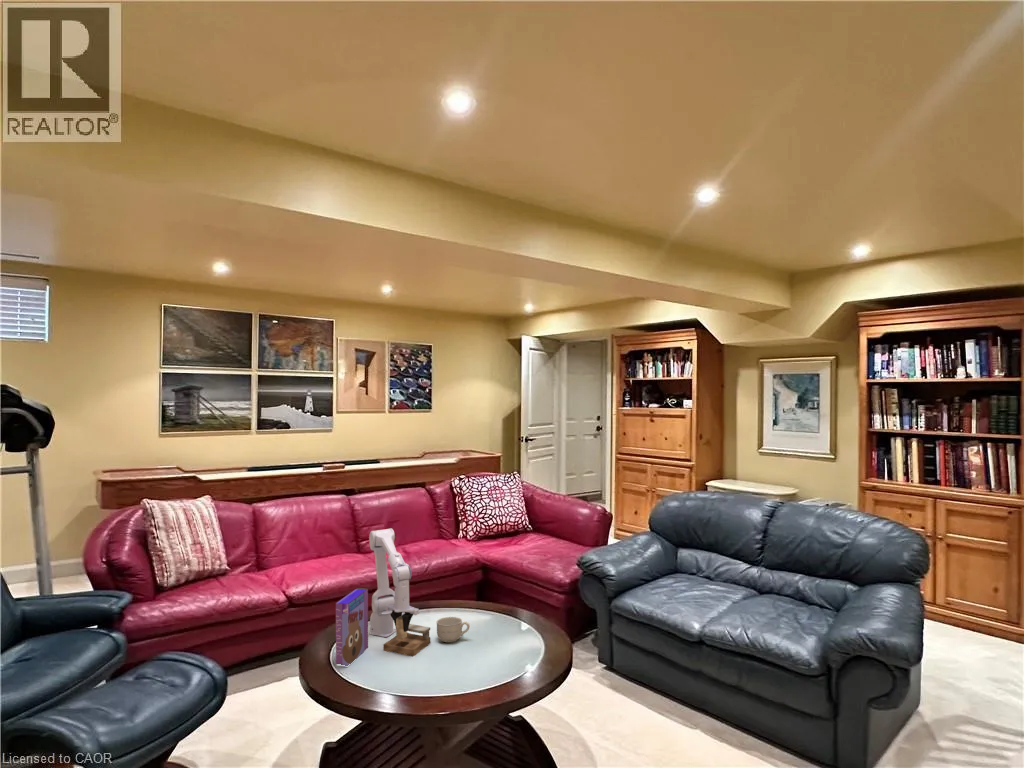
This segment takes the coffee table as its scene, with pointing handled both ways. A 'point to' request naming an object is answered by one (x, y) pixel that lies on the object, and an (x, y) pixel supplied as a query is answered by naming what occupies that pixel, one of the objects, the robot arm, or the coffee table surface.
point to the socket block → (409, 641)
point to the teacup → (450, 628)
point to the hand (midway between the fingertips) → (402, 630)
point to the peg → (400, 629)
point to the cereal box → (351, 626)
